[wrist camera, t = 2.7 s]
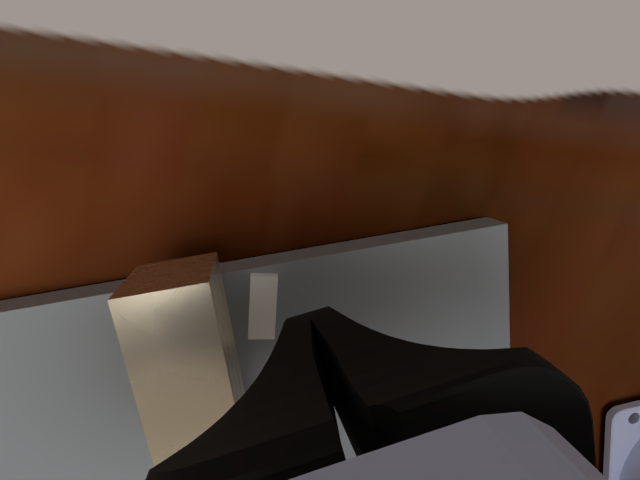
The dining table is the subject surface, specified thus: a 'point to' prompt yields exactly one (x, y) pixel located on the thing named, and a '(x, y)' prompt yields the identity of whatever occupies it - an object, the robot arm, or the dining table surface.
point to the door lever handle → (177, 349)
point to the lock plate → (249, 333)
